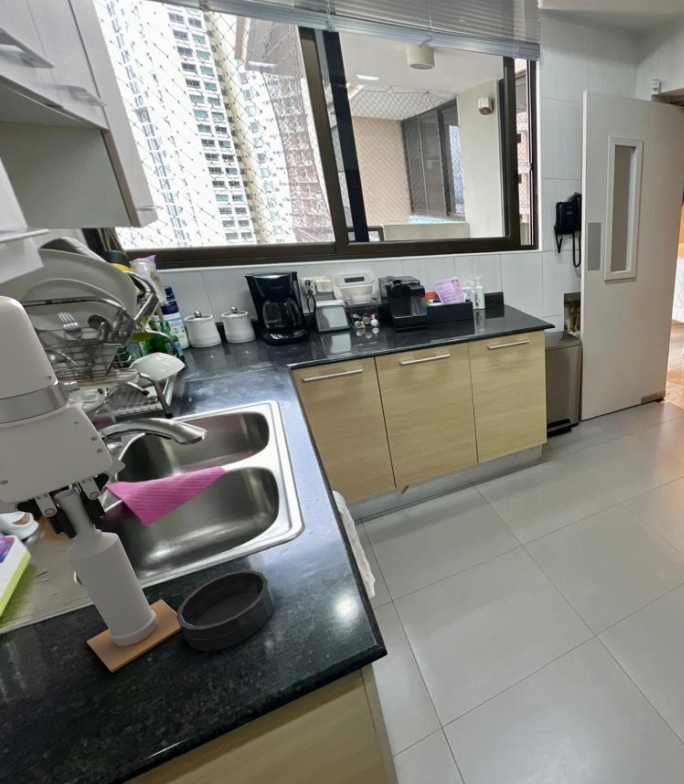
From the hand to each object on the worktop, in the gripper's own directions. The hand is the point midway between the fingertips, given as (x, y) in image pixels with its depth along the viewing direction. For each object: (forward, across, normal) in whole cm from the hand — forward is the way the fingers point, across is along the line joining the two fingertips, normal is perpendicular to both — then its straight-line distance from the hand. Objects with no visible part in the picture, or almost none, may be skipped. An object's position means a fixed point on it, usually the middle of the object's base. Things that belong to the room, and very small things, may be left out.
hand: (83, 527), depth 62 cm
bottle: (+20, 0, 0) cm, 20 cm away
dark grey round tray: (+20, -9, +9) cm, 24 cm away
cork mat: (+20, 0, 0) cm, 20 cm away
